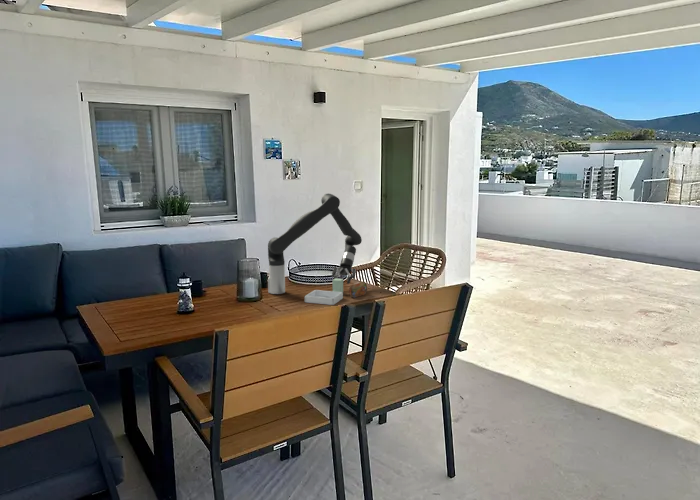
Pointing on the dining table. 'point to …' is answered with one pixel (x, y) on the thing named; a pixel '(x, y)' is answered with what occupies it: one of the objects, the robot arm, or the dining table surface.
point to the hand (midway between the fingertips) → (341, 282)
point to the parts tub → (323, 297)
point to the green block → (338, 285)
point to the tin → (357, 289)
